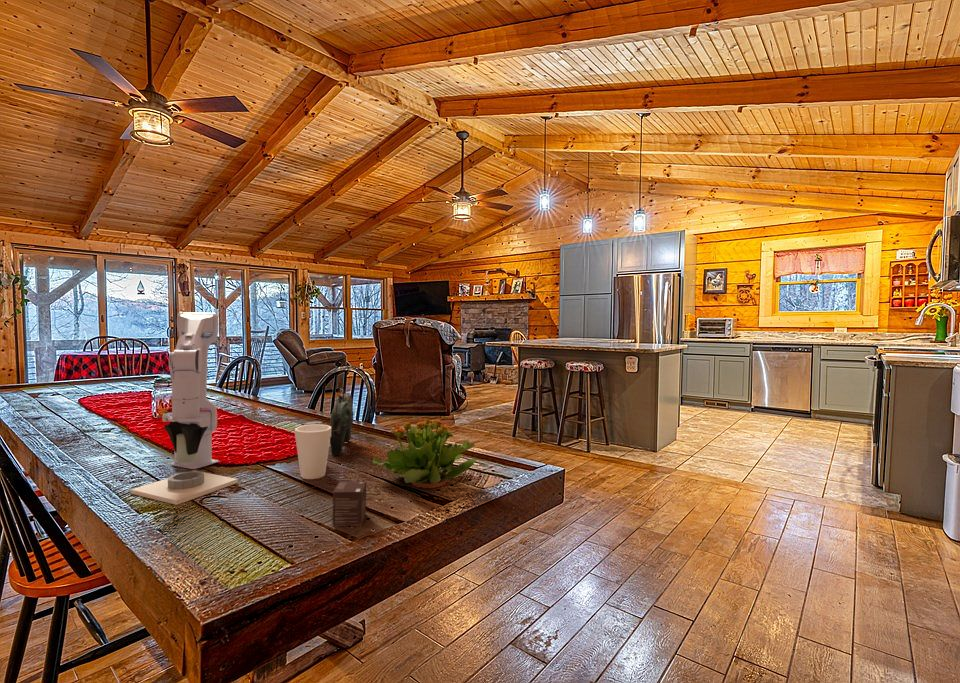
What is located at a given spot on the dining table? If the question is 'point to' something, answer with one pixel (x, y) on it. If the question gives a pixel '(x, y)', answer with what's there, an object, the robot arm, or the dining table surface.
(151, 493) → the socket plate
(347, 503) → the box
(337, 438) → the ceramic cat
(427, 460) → the potted flower
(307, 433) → the foam cup
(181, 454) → the grey rounded piece
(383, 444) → the dining table surface
